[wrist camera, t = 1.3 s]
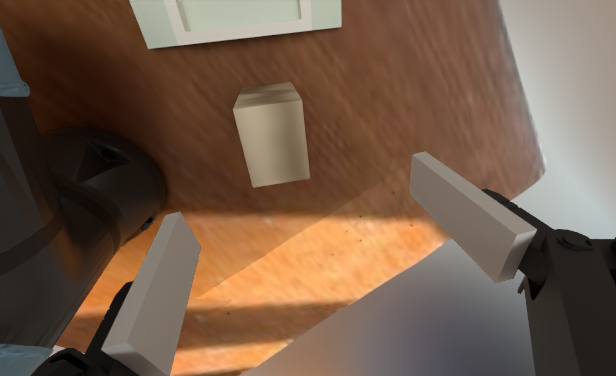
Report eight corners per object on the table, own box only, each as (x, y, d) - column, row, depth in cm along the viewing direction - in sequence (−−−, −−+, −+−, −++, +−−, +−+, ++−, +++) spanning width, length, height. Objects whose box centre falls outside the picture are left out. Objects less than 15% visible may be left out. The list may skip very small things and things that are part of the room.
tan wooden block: (255, 149, 34) (253, 187, 25) (241, 88, 29) (232, 109, 21) (298, 143, 34) (310, 178, 26) (290, 81, 30) (301, 100, 21)
